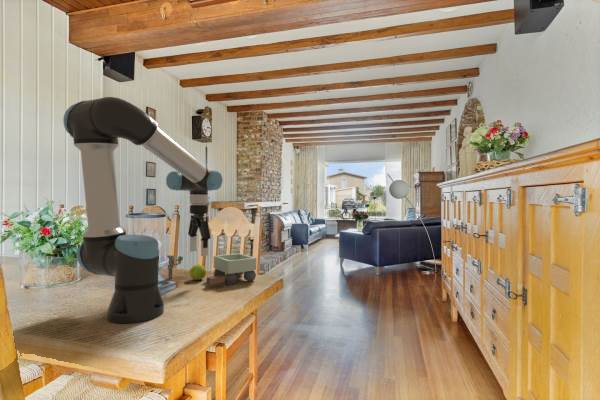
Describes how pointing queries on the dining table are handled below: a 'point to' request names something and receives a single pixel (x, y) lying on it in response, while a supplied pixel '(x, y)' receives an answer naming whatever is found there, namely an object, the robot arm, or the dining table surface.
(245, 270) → the trolley
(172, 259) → the mechanical component
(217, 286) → the chock
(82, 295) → the dining table surface
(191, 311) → the dining table surface
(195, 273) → the tennis ball
